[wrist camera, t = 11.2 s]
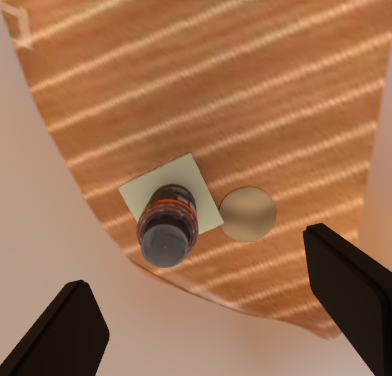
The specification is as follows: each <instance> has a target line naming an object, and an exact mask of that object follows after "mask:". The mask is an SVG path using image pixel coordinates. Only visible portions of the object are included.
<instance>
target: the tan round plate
mask: <svg viewBox="0 0 392 376" xmlns="http://www.w3.org/2000/svg"><path fill="white" fill-rule="evenodd" d="M219 213H220V215H221V217H222V219H223V221H224V224H222V225H220V226H221V228H222V230H223V232H224V233H225V234H226V235H227V236H228V237H230V238H231V239H233V240H236V241H239V242H252V241H256V240H258V239H260V238H262V237H264V236H265V235H266V234H267V233H268V232H269V231H270V230H271V228H272V227H273V225H274V222H275V219H276V208H275V204H274V202H273V200H272V199H271V197H270V196H269V195H268V194H267V193H265V192H264V191H262V190H260V189H258V188H254V187H242V188H239V189H236V190H234V191H232V192H231V193H229V194H228V195H227V196H226V197H225V198H224V200H223V201H222V203H221V205H220V207H219Z"/></svg>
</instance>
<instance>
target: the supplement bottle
mask: <svg viewBox="0 0 392 376" xmlns="http://www.w3.org/2000/svg"><path fill="white" fill-rule="evenodd" d="M137 238H138V241H139V244H140V245H141V250H142V253H143V255H144V257H145V258H146V260H147V261H148V262H150V263H151V264H153V265H155V266H157V267H162V268H168V267H173V266H175V265H177V264H179V263H180V262H182V261H183V260H184V258H185V257H186V255H187V254H188V253H189V252H190V251H191V250H192V248H193V247H194V245H195V244H196V241H197V238H198V220H197V211H196V203H195V199H194V197H193V195H192V193H191V192H190V191H189V190H188V189H187V188H185V187H183V186H181V185H178V184H167V185H164V186H162V187H160V188H158V189H157V190H156V191H155V192H154V194H153V195H152V196H151V198H150V200H149V202H148V204H147V205H146V207H145V209H144V210H143V212H142V214H141V216H140V218H139V221H138V224H137Z"/></svg>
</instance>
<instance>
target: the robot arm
mask: <svg viewBox="0 0 392 376" xmlns="http://www.w3.org/2000/svg"><path fill="white" fill-rule="evenodd" d="M303 238H304V245H305V252H306V260H307V267H308V274H309V281H310V287H311V290H312V292H313V294H314V295H315V296H316V298H317V299H318V300H319V302H320V303H321V304H322V306H323V307H324V308H325V310H326V311H327V312H328V314H329V315H330V316H331V318H332V319H333V320H334V322H335V323H336V324H337V326H338V327H339V328H340V330H341V331H342V332H343V334H344V335H345V336H346V338H347V339H348V340H349V342H350V343H351V344H352V346H353V347H354V348H355V350H356V351H357V352H358V354H359V355H360V356H361V358H362V359H363V360H364V362H365V363H366V364H367V366H368V367H369V368H370V370H371V371H372V372H373V374H374V375H375V376H392V272H391V271H389V270H388V269H387V268H385V267H383V266H382V265H381V264H379V263H378V262H377V261H375V260H374V259H372V258H371V257H370V256H368V255H367V254H365V253H364V252H363V251H361V250H360V249H358V248H357V247H355V246H354V245H353V244H351V243H350V242H348V241H347V240H346V239H344V238H343V237H341V236H340V235H339V234H337V233H336V232H334V231H333V230H331V229H330V228H329V227H327V226H326V225H324V224H323V223H319V224H315V225H310V226H307V228H306V230H305V231H303ZM108 341H109V329H108V327H107V325H106V322H105V320H104V318H103V316H102V313H101V311H100V309H99V307H98V304H97V302H96V300H95V298H94V295H93V293H92V290H91V288H90V286H89V284H88V283H87V282H84V281H83V280H77V281H74V282H69V283H67V284H66V285H65V286H64V287H63V288H62V290H61V291H60V292H59V293H58V295H57V296H56V297H55V298H54V300H53V301H52V302H51V303H50V304H49V306H48V307H47V308H46V310H45V311H44V312H43V313H42V314H41V316H40V317H39V318H38V319H37V321H36V322H35V323H34V324H33V326H32V327H31V328H30V329H29V331H28V332H27V333H26V334H25V335H24V337H23V338H22V339H21V341H20V342H19V343H18V344H17V345H16V347H15V348H14V349H13V350H12V352H11V353H10V354H9V355H8V357H7V358H6V359H5V360H4V361H3V363H2V364H1V365H0V376H95V375H96V372H97V369H98V367H99V364H100V362H101V359H102V357H103V354H104V351H105V349H106V346H107V344H108Z"/></svg>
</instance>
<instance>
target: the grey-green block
mask: <svg viewBox="0 0 392 376" xmlns="http://www.w3.org/2000/svg"><path fill="white" fill-rule="evenodd" d="M167 184H178V185H181V186H183V187H185V188H187V189H188V190H189V191H190V192H191V193H192V195H193V197H194V199H195V203H196V211H197V220H198V235H199V234H202V233H204V232H206V231H208V230H211V229H213V228H215V227H217V226H220V225H222V224H224V221H223V219H222V217H221V215H220V213H219V211H218V209H217V207H216V205H215V203H214V200H213V198H212V196H211V194H210V192H209V190H208V188H207V186H206V184H205V181H204V179H203V177H202V175H201V173H200V171H199V169H198V167H197V165H196V163H195V160H194V158H193V156H192V154H191V153H190V152H189V153H187V154H185V155H183V156H181V157H179V158H177V159H175V160H173V161H170V162H168V163H166V164H164V165H162V166H160V167H158V168H156V169H154V170H152V171H150V172H148V173H146V174H143V175H141V176H139V177H137V178H135V179H133V180H131V181H129V182H128V183H126V184H124V185H122V186H120V187H118V190H119V192H120V193H121V195H122V197H123V199H124V200H125V202H126V204H127V206H128V207H129V209H130V211H131V212H132V214H133V216H134V218H135V219H136V221H137V223H138V221H139V218H140V216H141V214H142V212H143V210H144V209H145V207H146V205H147V204H148V202H149V200H150V198H151V196H152V195H153V194H154V192H155V191H156V190H157V189H158V188H160V187H162V186H164V185H167Z"/></svg>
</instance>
